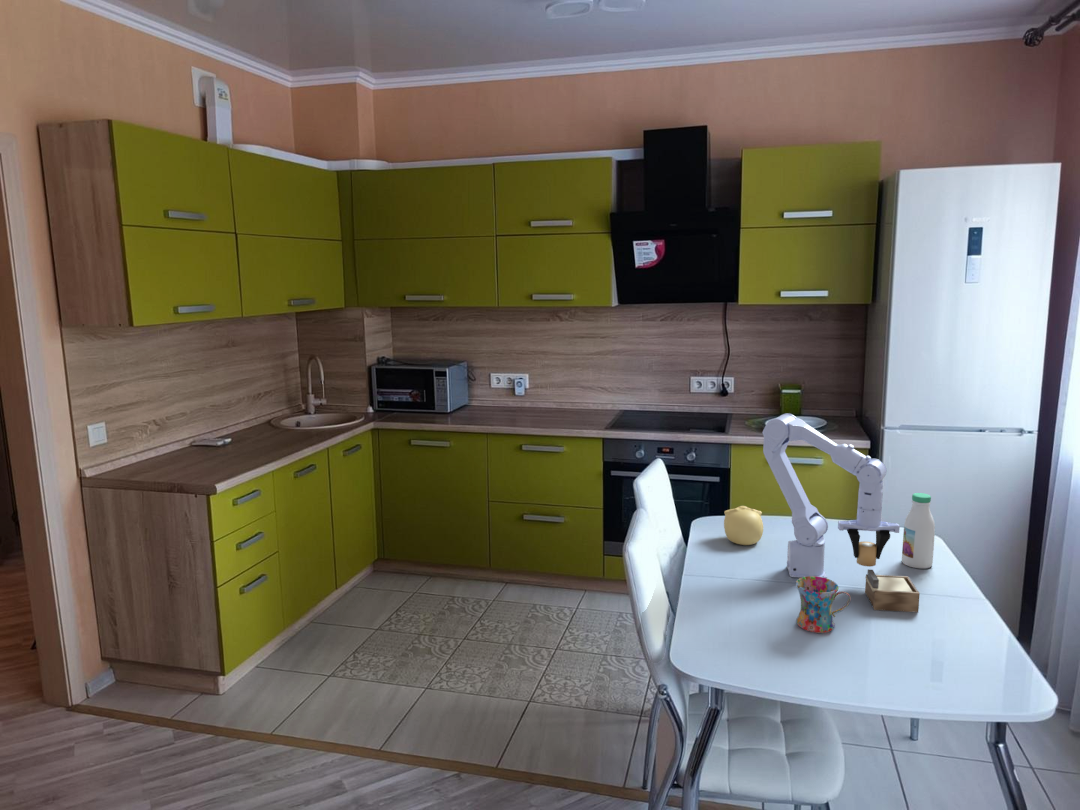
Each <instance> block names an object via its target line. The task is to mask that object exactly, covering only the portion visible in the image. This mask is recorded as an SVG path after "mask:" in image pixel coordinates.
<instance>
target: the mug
mask: <svg viewBox="0 0 1080 810" xmlns="http://www.w3.org/2000/svg"><path fill="white" fill-rule="evenodd" d="M795 585H796V588H797V590H798V593H799V597H800V611H799V614H798V616H797V618H796V620H795V621H796V624H797V626H798V627H800V628H801V629H803V630H804V631H807V632H810V633H817V634H822V633H823V634H825V633H829V632H831V631H833V630H834V629H835V627H836V624H835V621H834V620H833V618H836V615H835V614H836V613H839V612H841V611H843V610H845V608H847V607H848V605H849V604H850V602H851V599H852V598H851V595H850V593H848V592H846V591H838V590H839V588H840V587H839V585H838V584H837V583H836V582H835V581H834V580H831V579H829V578H828V577H827V578H823V577H816V576H808V577H802V578H800V577H798V579H797V580H796V581H795ZM839 595H846V596H847V597H848V599H847V601H846V603H845V604H844V605H843V606H842V607H840V608H838V609H836V610H834V611H832V607H833V602H834V601H835V599H836V598H837V597H838V596H839Z"/></svg>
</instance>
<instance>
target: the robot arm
mask: <svg viewBox="0 0 1080 810" xmlns="http://www.w3.org/2000/svg"><path fill="white" fill-rule="evenodd" d="M762 436H763V446H762V447H763V450H762V452H763V453H762V454H763V455H764V458H765V460H766V462H767V463H768V465H769V468H770V470H771V472H772V475H773V476H774V478H775V480H776V482H777V484H778V485H779V488H780V490H781V492H782V494H783V497H784V498H785V501H786V503H787V505H788V507H789V508H790V510H791V524H792V526H793V535H794V537H795V539H794V540H789V541H788V542H787V559H786V568H787V571H788V573H789V577H791V578H802V577H808V576H816V577H823V578H827V579H828V576H827V574H826V573H827V572H825V548H826V546H825V545H826V539H825V537H824V535H826V533H827V531H828V530H829V524H828V521H827V518H825V517H824V515H822V514H821V513H820V512H819V509H818V508H817V507H816V506H814V505H812V504H811V502H810V499H809V498H808V495H807V494H806V492H805V490H804V488H803V485H802V484H801V482H800V480H799V478H798V475H797V473H796V471H795V469H794V468H793V464H792V463H791V461H790V459H789V457H788V455H787V453H786V450H787V448H788V445H789V443H790V442H794V441H795V442H797V441H804V442H805V443H807V444H809V445H811V446H812V447H815V448H816V449H818V450H820V451H822V452H824V453H825V454H828V455H829V456H830V458H831V461H832V463H833V464H835V465H837V466H838V467H840V468H842V469H843V470H845V471H847V472H848V473H850V474H852V475H853V476H856V479H857V481H858V482H859V486H858V493H857V494H858V497H857V511H856V512H857V513H856V519H853V520H852V519H850V520H838V522H837V529H838V530H839V531H844V530H845V531H847V533H848V536H849V539H850V542H851V545H852V551H853V553H852V554H853V557H854V558H855V559H857V558H858V547H859V542H860V539H861V535H860V531H862V532H863V531H865V532H867V531H868V532H875V544H876V545H877V553H876V560H879V559H880V558H881V555H882V552H883V549H884V548H885V547H886V544H887V543H888V542H889V540H890V538H891V533H892V532H893V533H895V534H900V527H901V526H900V524H899V523H897V522H894V523H893V522H887V521H882V510H883V499H884V498H883V494H884V490H883V489H884V479H885V477H886V475H887V472H888V471H887V467H886V465H885V464H884V462H882V461H881V460H880V459H878V458H872V457H871V456H870V455H865V454H863V453H861V452H860V451H858V450H856V449H855V446H854V445H853V444H851V443H849V444H846V443H842V444H841V443H840V444H838V443H836V442H834V441H833V440H832V439H830V438H829V437H827V436H825V435H824V434H822V432H820V431H818V430H816V429H815V428H814V427H813V426H811V425H809V424H808V423H807V422H805V421H804V420H803V419H802V418H799V417H796V416H795V415H794V414H792V413H783V414H781V415H779V416H778V417H775V418H772V419H770V420H769V421H768V422H766V425H764V428H763V430H762Z"/></svg>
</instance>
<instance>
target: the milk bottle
mask: <svg viewBox="0 0 1080 810" xmlns="http://www.w3.org/2000/svg"><path fill="white" fill-rule="evenodd" d="M931 501H932V496H931V495H930V494H928V493H924V492H922V493H921V492H915V493H913V494H912V495H911V503H912V505H911V509H910V510H909V512H908V513H907V515H906V517H905V519H904V520H905V521H904V526H903V534H902V535H903V536H902V537H903V538H902V550H901V551H902V552H901V561H902V564H904V565H905V566H907V567H910V568H913V569H922V570H923V569H929V568H931V567H932V566H933V563H934V550H935V535H936V534H935V532H936V531H935V529H936V523H935V519H934V516H933V514H932V511H931V507H930V505H931V504H932V503H931Z"/></svg>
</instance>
